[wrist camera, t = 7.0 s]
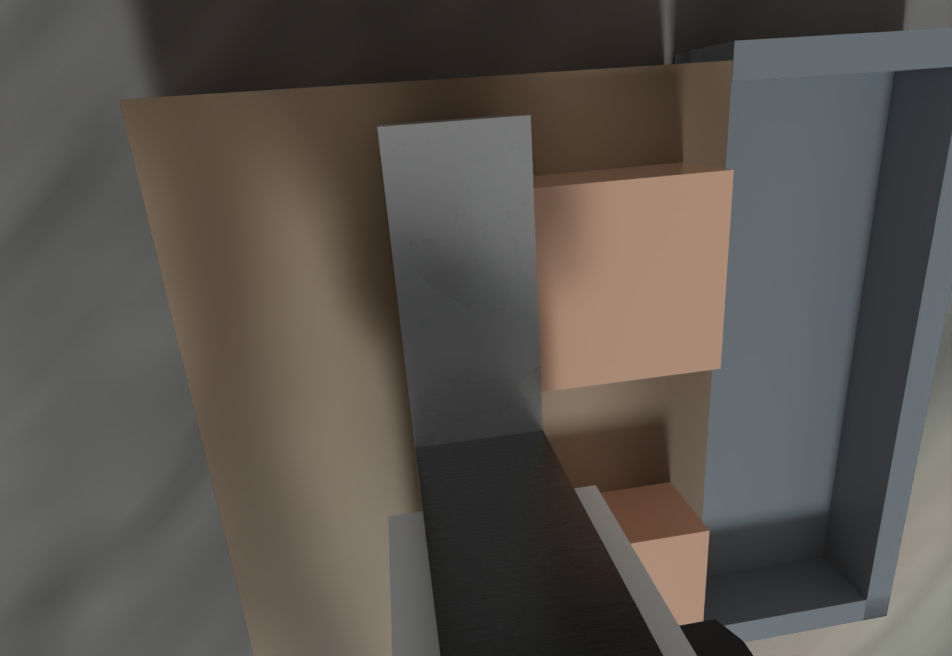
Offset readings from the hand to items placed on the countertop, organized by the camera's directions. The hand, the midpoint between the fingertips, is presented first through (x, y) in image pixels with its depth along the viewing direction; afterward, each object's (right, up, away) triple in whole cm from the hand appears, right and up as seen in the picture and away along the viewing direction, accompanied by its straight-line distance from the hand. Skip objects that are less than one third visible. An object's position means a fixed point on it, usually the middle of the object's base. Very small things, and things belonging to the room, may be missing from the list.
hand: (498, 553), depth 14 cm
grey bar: (-1, +1, +4) cm, 5 cm away
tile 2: (+3, +7, +4) cm, 8 cm away
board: (-1, +3, +9) cm, 9 cm away
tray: (+10, +4, +10) cm, 15 cm away
